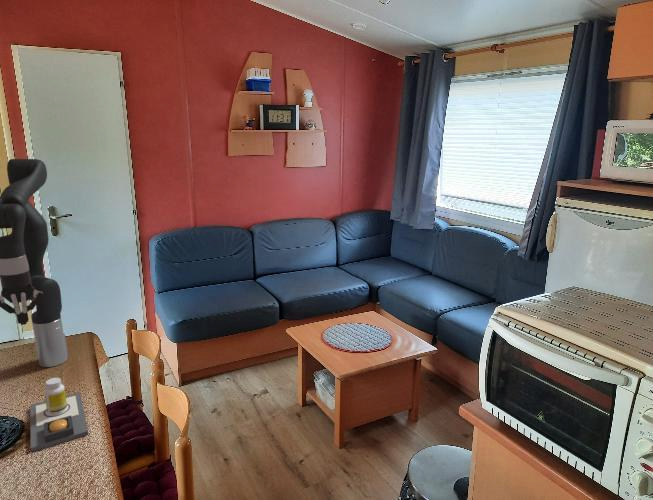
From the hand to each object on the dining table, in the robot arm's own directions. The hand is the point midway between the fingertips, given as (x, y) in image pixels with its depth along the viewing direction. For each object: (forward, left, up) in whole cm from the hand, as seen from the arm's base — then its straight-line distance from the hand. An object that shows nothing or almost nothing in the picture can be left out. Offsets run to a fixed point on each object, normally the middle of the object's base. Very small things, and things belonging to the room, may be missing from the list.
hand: (23, 323), depth 143 cm
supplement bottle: (+7, +11, -26) cm, 29 cm away
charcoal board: (+10, +13, -27) cm, 32 cm away
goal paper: (+7, +11, -26) cm, 29 cm away
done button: (+17, +17, -25) cm, 35 cm away
